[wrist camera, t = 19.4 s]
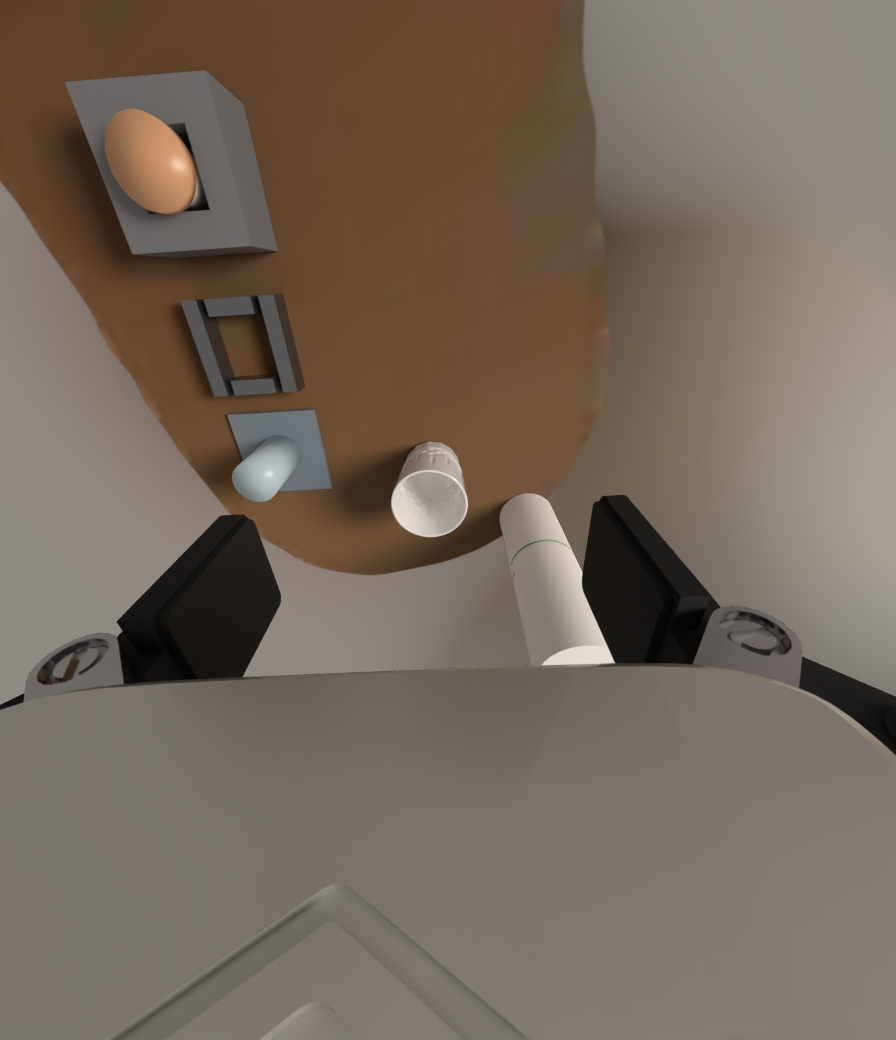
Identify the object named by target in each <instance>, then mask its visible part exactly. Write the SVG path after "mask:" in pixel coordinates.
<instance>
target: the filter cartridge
mask: <svg viewBox="0 0 896 1040" xmlns="http://www.w3.org/2000/svg"><path fill="white" fill-rule="evenodd" d="M301 458H302V455H301V450H300V448H299V446H298V445H297V444H296V443H295V442H294V441H293V440H292V439H290V438H288V437H286V436H282V435H275V436H271V437H270V438H268V439H267V440H266V441H265V442H264V443H263V444H261V445H260V446H259V447H258V448H257V449H256V450H255V451H254V452H253V453H251V454H250V455H249V456H248V457H247V458H246V459H245V460H244V461H243V462H241V463H240V464H239V465H238V466H237V467H236V468H235V469H234V471H233V473H232V481H233V484H234V487H235V488H236V490H237V491H238V492H239V493H240V494H241V495H242V496H244V497H245V498H247V499H249V500H252V501H256V502H264V501H268V500H270V499H271V498H272V497H273V496H274V495H275V494H276V493H277V491H278V490H279V489H280V488H281V486H282V485H283V484H284V483H285V481H286V480H287V479H288V478H289V476H290V475H291V474H292V473H293V471H294V470H295V469H296V468H297V466H298V465H299V464H300V462H301Z"/></svg>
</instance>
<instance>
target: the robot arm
mask: <svg viewBox="0 0 896 1040" xmlns="http://www.w3.org/2000/svg"><path fill="white" fill-rule="evenodd" d="M582 589H583V592H584V595H585V597H586V599H587V602H588V604H589V606H590V608H591V611H592V613H593V615H594V617H595V620H596V622H597V624H598V626H599V629H600V631H601V633H602V635H603V638H604V640H605V642H606V644H607V647H608V649H609V651H610V653H611V655H612V658H613V660H614V662H615V663H604V664H568V665H537V666H511V667H510V666H508V667H479V668H453V669H452V668H450V669H426V670H425V669H424V670H401V671H400V670H399V671H374V672H349V673H325V674H304V675H280V676H261V677H243V675H244V673H245V671H246V669H247V667H248V665H249V663H250V661H251V659H252V657H253V655H254V654H255V652H256V650H257V648H258V646H259V644H260V642H261V640H262V638H263V636H264V634H265V633H266V631H267V629H268V627H269V625H270V623H271V621H272V619H273V617H274V615H275V613H276V611H277V609H278V608H279V605H280V602H281V594H280V591H279V588H278V585H277V582H276V580H275V578H274V574H273V572H272V569H271V566H270V563H269V561H268V558H267V555H266V552H265V550H264V547H263V544H262V541H261V538H260V536H259V533H258V530H257V527H256V525H255V523H254V521H253V520H251V519H248V518H247V517H246V516H245V515H243V514H242V515H224V516H220V517H219V518H218V519H217V520H216V521H215V522H214V523H213V524H212V525H211V526H210V527H209V528H208V529H207V530H206V531H205V532H204V533H203V534H202V535H201V536H200V537H199V538H198V539H197V540H196V541H195V542H194V543H193V544H192V545H191V546H190V547H189V548H188V549H187V550H186V551H185V552H184V553H183V554H182V556H180V557H179V558H178V560H176V562H175V563H174V564H173V565H172V566H171V567H170V568H169V569H168V570H167V571H166V572H165V573H164V574H163V575H162V576H161V577H160V578H159V579H158V580H157V581H156V582H155V583H154V584H153V585H152V586H151V587H150V588H149V589H148V590H147V591H146V592H145V593H144V594H143V595H142V596H141V597H140V598H139V599H138V600H137V601H136V602H135V603H134V604H133V605H132V606H131V607H130V608H129V610H127V612H126V613H125V614H124V615H123V616H122V617H121V618H120V619H119V620H118V621H117V623H118V625H119V626H120V628H121V629H122V632H121V633H120V634H119V636H118V637H117V638H116V636H114V635H111V634H109V633H96V634H91V635H87V636H84V637H81V638H78V639H75V640H73V641H71V642H69V643H67V644H64V645H62V646H61V647H59V648H57V649H56V650H54V651H53V652H51V653H50V654H48V655H47V656H46V657H44V658H43V659H42V660H41V661H40V662H39V663H38V664H36V666H35V667H34V668H33V669H32V671H31V672H30V673H29V676H28V678H27V680H26V686H25V693H24V694H22V695H20V696H18V697H16V698H13V699H12V700H10V701H7V702H5V703H3V704H1V705H0V1040H896V697H895V696H893V695H890V694H888V693H886V692H883V691H881V690H878V689H876V688H874V687H872V686H870V685H867V684H865V683H862V682H860V681H858V680H855V679H853V678H851V677H848V676H846V675H844V674H842V673H839V672H837V671H835V670H832V669H830V668H828V667H825V666H823V665H821V664H818V663H816V662H814V661H811V660H809V659H806V658H804V657H802V653H803V649H802V644H801V641H800V640H799V638H798V637H797V635H796V634H795V632H793V631H792V630H791V629H790V628H789V627H788V626H787V625H786V624H784V623H783V622H781V621H780V620H778V619H776V618H775V617H773V616H771V615H769V614H766V613H764V612H761V611H759V610H755V609H752V608H748V607H742V606H724V607H720V606H719V605H718V604H717V602H716V601H715V600H714V599H713V598H712V596H711V595H710V594H709V592H708V591H707V590H706V589H705V588H704V587H703V585H702V584H701V583H700V582H699V581H698V580H697V579H696V577H695V576H694V575H693V574H692V573H691V571H690V570H689V569H688V568H687V567H686V565H685V564H684V563H683V562H682V561H681V560H680V558H678V556H677V555H676V554H675V553H674V551H673V550H672V549H671V548H670V547H669V545H668V544H667V543H666V542H665V541H664V540H663V538H662V537H661V536H660V535H659V534H658V533H657V531H656V530H655V529H654V528H653V527H652V526H651V524H650V523H649V522H648V521H647V520H646V518H645V517H644V516H643V515H642V514H641V513H640V511H639V510H638V509H637V508H636V507H635V506H634V504H633V503H632V502H631V501H630V500H629V498H628V497H627V496H625V495H614V496H602V498H601V499H600V501H599V502H595V503H594V505H593V509H592V515H591V523H590V528H589V535H588V541H587V549H586V555H585V561H584V567H583V574H582Z"/></svg>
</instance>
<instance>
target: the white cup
mask: <svg viewBox="0 0 896 1040" xmlns="http://www.w3.org/2000/svg"><path fill="white" fill-rule="evenodd" d="M391 507H392V512H393V514H394V517H395V518H396V520H397V521H398V523H399V524H400V525H401V526H402V527H403V528H404V529H406V530H407V531H409V532H411V533H413V534H415V535H419V536H423V537H437V536H442V535H445V534H447V533H449V532H451V531H453V530H454V529H456V528H457V527H458V526H459V525H460V524H461V522H462V521H463V519H464V517H465V515H466V512H467V507H468V501H467V495H466V490H465V485H464V480H463V475H462V471H461V468H460V466H459V461H458V458H457V456H456V455H455V453H454V452H453V451H452V449H451V448H449V447H447V446H446V445H444V444H442V443H440V442H425V443H423V444H420V445H417V446H416V447H415V448H414V449H413V450H412V451H411V452H410V453H409V454H408V456H407V459H406V462H405V463H404V465H403V467H402V470H401V472H400V474H399V477H398V480H397V483H396V486H395V488H394V491H393V494H392V498H391Z"/></svg>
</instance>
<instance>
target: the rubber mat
mask: <svg viewBox="0 0 896 1040" xmlns="http://www.w3.org/2000/svg"><path fill="white" fill-rule="evenodd" d="M227 416H228V419H229V422H230V425H231V428H232V431H233V433H234V436H235V439H236V442H237V445H238V448H239V451H240V453H241V456H242V459H243V461H244V460H245V459H246V458H247V457H248V456H249V455H250V454H251V453H253V452H254V451H255V450H256V449H257V448H258V447H259V446H260V445H261V444H263V443H264V442H265V441H266V440H267V439H268V438H270V437H271V436H275V435H282V436H286V437H288V438H290V439H292V440H293V441H294V442H295V443H296V444H297V445H298V446H299V448H300V450H301V455H302V458H301V462H300V464H299V465H298V466H297V468H296V469H295V470H294V471H293V473H292V474H291V475H290V476H289V478H288V479H287V480H286V481H285V483H284V484H283V485H282V486H281V488H280V489H279V490H278V491H296V490H315V489H332V487H333V486H332V482H331V478H330V473H329V469H328V465H327V461H326V456H325V452H324V448H323V443H322V439H321V435H320V430H319V426H318V422H317V417H316V413H315V409H303V410H286V411H268V412H251V413H234V414H228V415H227Z"/></svg>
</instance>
